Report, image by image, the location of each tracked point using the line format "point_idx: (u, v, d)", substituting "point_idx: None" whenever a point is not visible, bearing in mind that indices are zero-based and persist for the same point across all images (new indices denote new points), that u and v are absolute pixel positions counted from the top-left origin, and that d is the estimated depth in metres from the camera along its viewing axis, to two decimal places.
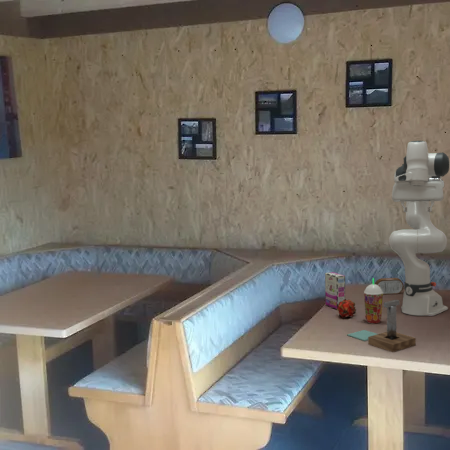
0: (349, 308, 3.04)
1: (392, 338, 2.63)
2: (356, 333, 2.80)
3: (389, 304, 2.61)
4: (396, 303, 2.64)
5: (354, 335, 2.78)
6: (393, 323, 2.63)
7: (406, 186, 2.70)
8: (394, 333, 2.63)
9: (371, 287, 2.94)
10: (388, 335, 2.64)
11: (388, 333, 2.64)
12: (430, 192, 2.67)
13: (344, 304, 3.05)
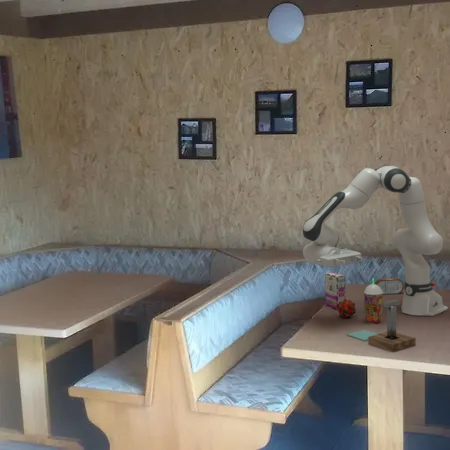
0: (349, 308, 3.04)
1: (392, 338, 2.63)
2: (356, 333, 2.80)
3: (389, 304, 2.61)
4: (396, 303, 2.64)
5: (354, 335, 2.78)
6: (393, 323, 2.63)
7: None
8: (394, 333, 2.63)
9: (371, 287, 2.94)
10: (388, 335, 2.64)
11: (388, 333, 2.64)
12: None
13: (344, 304, 3.05)
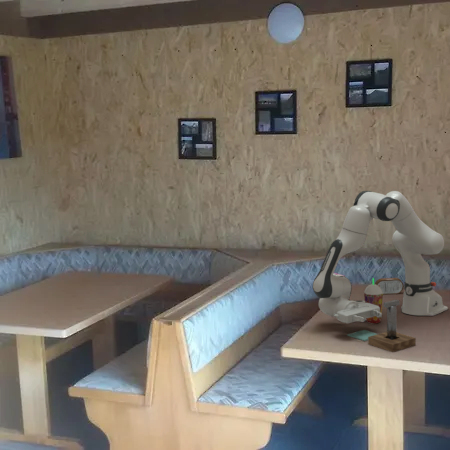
0: None
1: (392, 338, 2.63)
2: (356, 333, 2.80)
3: (389, 304, 2.61)
4: (396, 303, 2.64)
5: (354, 335, 2.78)
6: (393, 323, 2.63)
7: None
8: (394, 333, 2.63)
9: (371, 287, 2.94)
10: (388, 335, 2.64)
11: (388, 333, 2.64)
12: None
13: None
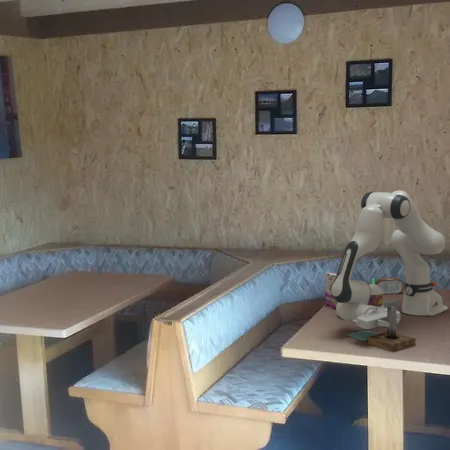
0: None
1: (392, 338, 2.63)
2: (356, 333, 2.80)
3: (389, 304, 2.61)
4: (396, 303, 2.64)
5: (354, 335, 2.78)
6: (393, 323, 2.63)
7: None
8: (394, 333, 2.63)
9: (371, 287, 2.94)
10: (388, 335, 2.64)
11: (388, 333, 2.64)
12: None
13: None
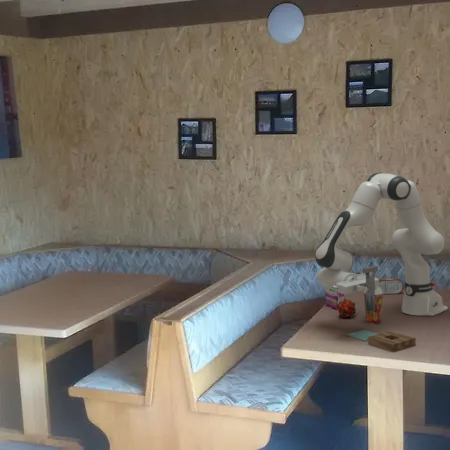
0: (349, 308, 3.04)
1: (370, 303, 2.71)
2: (356, 333, 2.80)
3: (368, 270, 2.69)
4: (374, 269, 2.71)
5: (354, 335, 2.78)
6: (371, 288, 2.71)
7: None
8: (372, 298, 2.71)
9: None
10: (367, 300, 2.72)
11: (367, 298, 2.72)
12: None
13: (344, 304, 3.05)
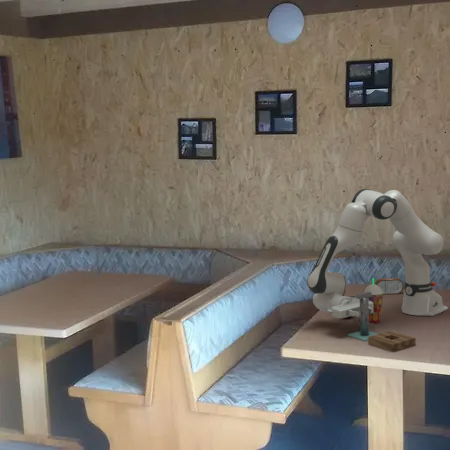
0: None
1: (364, 328, 2.76)
2: (356, 333, 2.80)
3: (361, 296, 2.74)
4: (368, 295, 2.76)
5: (354, 335, 2.78)
6: (365, 314, 2.75)
7: None
8: (366, 323, 2.76)
9: (371, 287, 2.94)
10: (361, 325, 2.77)
11: (361, 324, 2.77)
12: None
13: None
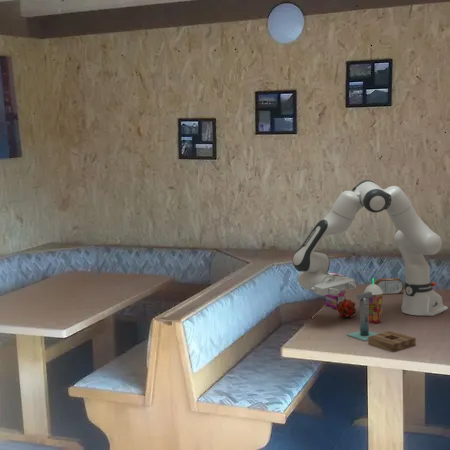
0: (349, 308, 3.04)
1: (364, 328, 2.76)
2: (356, 333, 2.80)
3: (361, 296, 2.74)
4: (368, 295, 2.76)
5: (354, 335, 2.78)
6: (365, 314, 2.75)
7: None
8: (366, 324, 2.76)
9: (371, 287, 2.94)
10: (361, 325, 2.77)
11: (361, 324, 2.77)
12: None
13: (344, 304, 3.05)
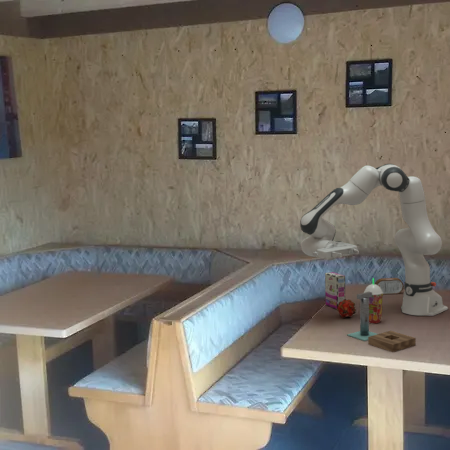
0: (349, 308, 3.04)
1: (365, 328, 2.76)
2: (356, 333, 2.80)
3: (362, 296, 2.74)
4: (369, 295, 2.76)
5: (354, 335, 2.78)
6: (366, 314, 2.75)
7: None
8: (366, 323, 2.76)
9: (371, 287, 2.94)
10: (361, 325, 2.77)
11: (361, 323, 2.77)
12: None
13: (344, 304, 3.05)
